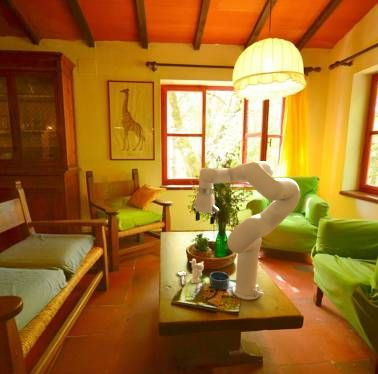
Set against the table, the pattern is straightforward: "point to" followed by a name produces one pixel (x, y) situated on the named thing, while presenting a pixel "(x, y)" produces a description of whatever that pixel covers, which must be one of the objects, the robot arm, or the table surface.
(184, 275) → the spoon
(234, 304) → the table surface
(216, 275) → the bowl
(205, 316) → the table surface
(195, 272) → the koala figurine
